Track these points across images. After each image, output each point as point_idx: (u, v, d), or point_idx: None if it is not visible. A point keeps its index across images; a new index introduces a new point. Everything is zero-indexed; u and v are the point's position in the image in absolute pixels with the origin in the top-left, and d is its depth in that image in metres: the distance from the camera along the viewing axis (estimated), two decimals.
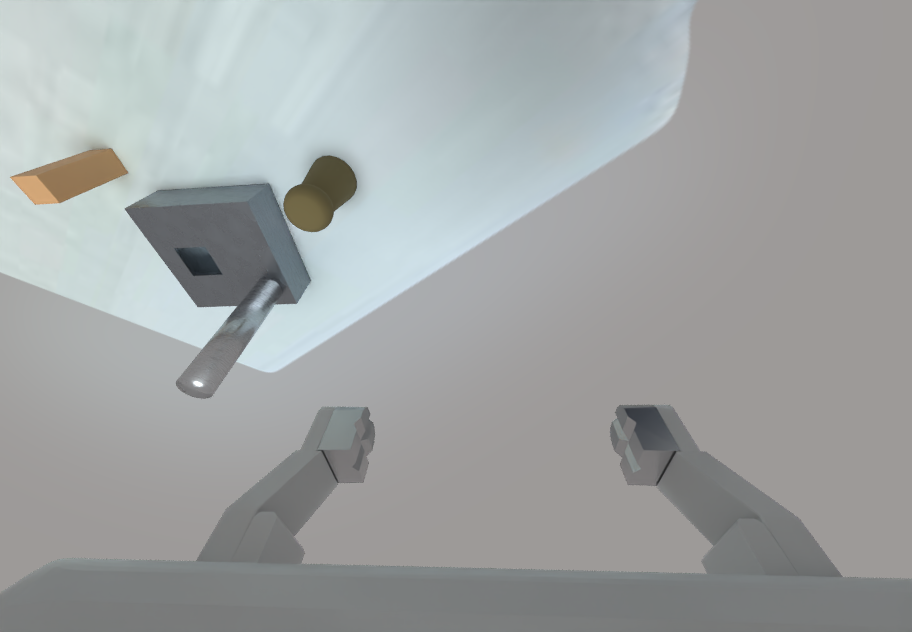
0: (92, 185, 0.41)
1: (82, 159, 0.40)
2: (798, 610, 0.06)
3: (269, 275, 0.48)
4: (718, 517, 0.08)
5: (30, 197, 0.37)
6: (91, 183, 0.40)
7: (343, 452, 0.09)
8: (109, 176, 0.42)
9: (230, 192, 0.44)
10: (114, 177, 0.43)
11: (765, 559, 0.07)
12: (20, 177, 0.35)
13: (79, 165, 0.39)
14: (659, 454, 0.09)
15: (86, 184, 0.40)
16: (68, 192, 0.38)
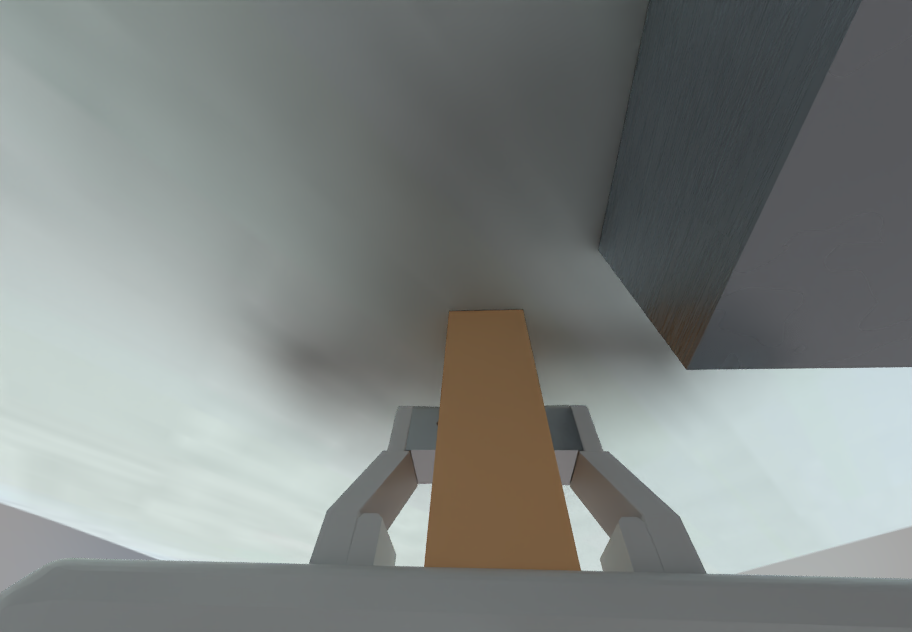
0: (537, 421, 0.09)
1: (443, 392, 0.10)
2: (798, 610, 0.06)
3: None
4: (614, 516, 0.08)
5: None
6: (528, 419, 0.09)
7: (431, 452, 0.09)
8: (519, 354, 0.11)
9: None
10: (526, 344, 0.12)
11: (637, 556, 0.07)
12: None
13: (456, 413, 0.10)
14: (565, 454, 0.09)
15: (528, 439, 0.09)
16: (546, 544, 0.07)
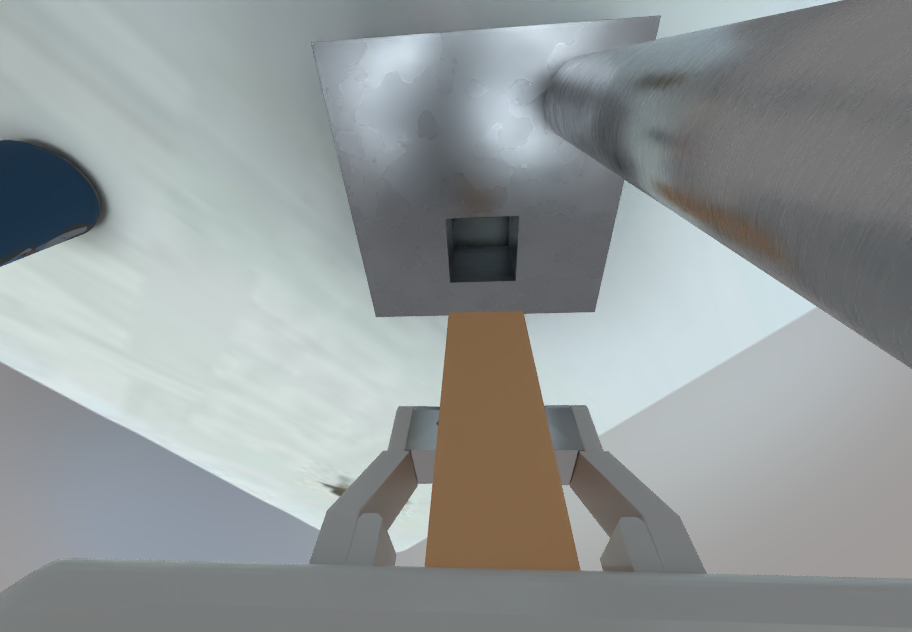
0: (537, 422, 0.09)
1: (443, 393, 0.10)
2: (798, 610, 0.06)
3: (536, 77, 0.16)
4: (615, 516, 0.08)
5: None
6: (528, 420, 0.09)
7: (431, 452, 0.09)
8: (519, 355, 0.11)
9: None
10: (526, 345, 0.12)
11: (637, 556, 0.07)
12: None
13: (456, 414, 0.10)
14: (565, 454, 0.09)
15: (528, 440, 0.09)
16: (546, 546, 0.07)
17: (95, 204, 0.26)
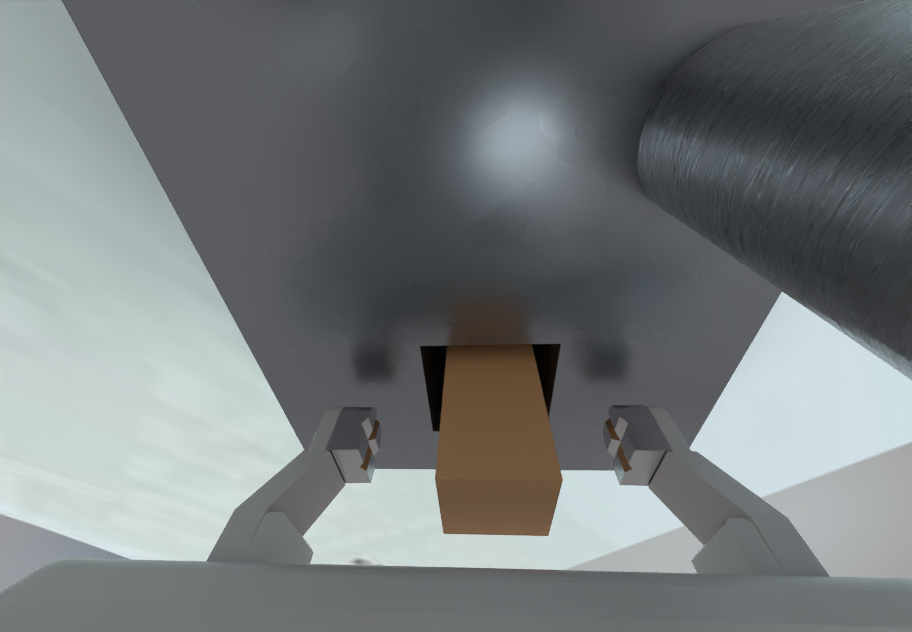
0: (524, 350, 0.12)
1: None
2: (798, 610, 0.05)
3: (627, 80, 0.07)
4: (708, 517, 0.08)
5: (520, 532, 0.09)
6: (518, 349, 0.12)
7: (351, 452, 0.09)
8: None
9: None
10: None
11: (753, 559, 0.07)
12: (444, 515, 0.09)
13: (461, 345, 0.12)
14: (650, 454, 0.09)
15: (517, 361, 0.11)
16: (528, 422, 0.09)
17: None
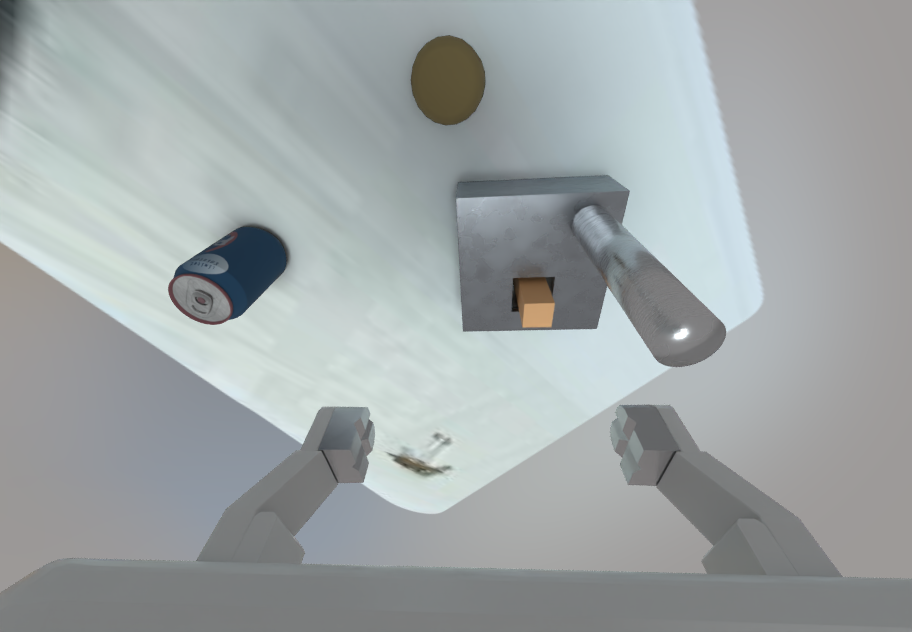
0: (543, 280, 0.37)
1: None
2: (798, 610, 0.06)
3: (568, 214, 0.32)
4: (718, 517, 0.08)
5: (543, 325, 0.35)
6: (541, 280, 0.37)
7: (343, 452, 0.09)
8: None
9: None
10: None
11: (765, 559, 0.07)
12: (524, 318, 0.35)
13: (523, 279, 0.37)
14: (659, 454, 0.09)
15: (541, 283, 0.37)
16: (546, 294, 0.35)
17: None
